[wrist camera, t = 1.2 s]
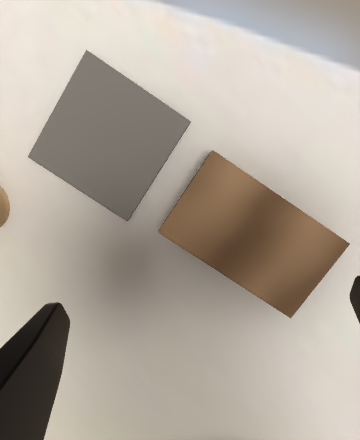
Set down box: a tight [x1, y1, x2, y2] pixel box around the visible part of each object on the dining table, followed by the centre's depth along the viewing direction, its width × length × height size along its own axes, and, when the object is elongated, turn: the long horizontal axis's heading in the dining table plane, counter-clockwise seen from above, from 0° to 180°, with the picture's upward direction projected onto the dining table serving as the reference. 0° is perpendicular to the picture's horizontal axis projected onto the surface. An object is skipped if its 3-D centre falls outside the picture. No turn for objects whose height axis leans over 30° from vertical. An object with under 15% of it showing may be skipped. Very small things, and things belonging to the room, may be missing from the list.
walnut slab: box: [159, 150, 349, 318], centre depth 21 cm, size 12×7×2 cm, turn 57°
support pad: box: [28, 50, 191, 221], centre depth 21 cm, size 9×9×1 cm
